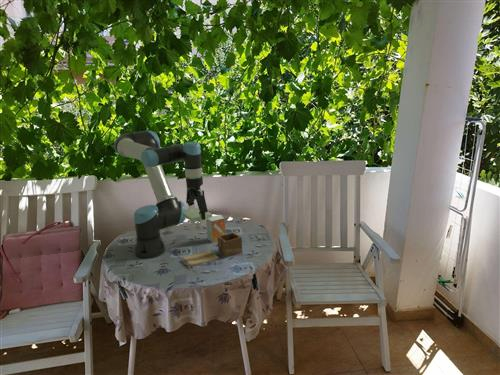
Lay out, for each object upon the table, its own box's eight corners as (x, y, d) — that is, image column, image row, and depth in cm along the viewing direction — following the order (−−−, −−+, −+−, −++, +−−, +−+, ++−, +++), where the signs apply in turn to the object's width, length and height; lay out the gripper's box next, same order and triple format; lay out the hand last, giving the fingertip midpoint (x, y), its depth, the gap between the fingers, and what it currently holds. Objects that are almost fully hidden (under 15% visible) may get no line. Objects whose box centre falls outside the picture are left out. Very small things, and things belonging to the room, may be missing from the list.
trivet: (183, 260, 187) (182, 257, 187) (209, 252, 194) (209, 249, 194) (191, 268, 179) (191, 265, 179) (218, 260, 186) (218, 257, 186)
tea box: (218, 253, 193) (217, 236, 191) (234, 248, 198) (233, 232, 195) (226, 259, 187) (225, 242, 184) (242, 254, 191) (241, 237, 189)
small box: (213, 244, 204) (211, 221, 200) (207, 240, 209) (205, 217, 205) (226, 240, 208) (225, 217, 204) (220, 236, 213) (219, 214, 210)
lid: (182, 218, 183) (182, 212, 182) (202, 213, 188) (201, 207, 187) (192, 225, 174) (191, 218, 173) (212, 220, 179) (211, 214, 178)
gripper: (213, 180, 167) (216, 227, 174) (191, 170, 187) (194, 213, 193) (197, 183, 164) (201, 231, 170) (176, 173, 183) (180, 216, 189)
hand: (197, 222), depth 181 cm, fingers closed on lid, 11 cm apart
